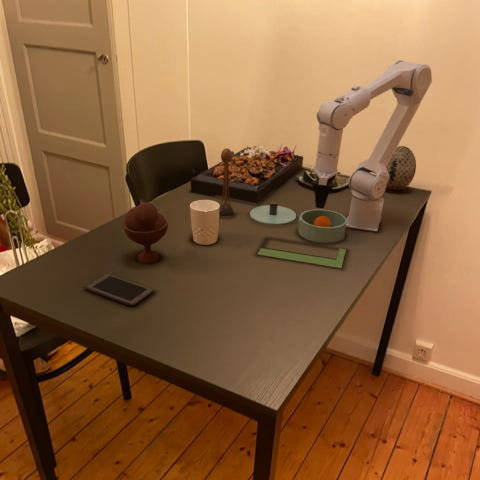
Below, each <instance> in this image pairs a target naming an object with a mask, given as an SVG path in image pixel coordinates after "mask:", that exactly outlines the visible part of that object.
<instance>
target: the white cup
mask: <svg viewBox="0 0 480 480" xmlns="http://www.w3.org/2000/svg"><path fill="white" fill-rule="evenodd" d="M220 206H221V204H220V203H219V202H217V201H216V200H212V199H211V200H210V199H199V200H195V201H192V202H191V203H190V204H189V210H190V211H189V212H190V223H191V224H190V225H191V231H192V240H193V242H194V243H196V245H197V244H198V245H202V246H208V245H213V244H215V243H217V241H218V237H219V225H220V215H219V210H220Z"/></svg>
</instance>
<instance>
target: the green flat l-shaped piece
mask: <svg viewBox="0 0 480 480" xmlns="http://www.w3.org/2000/svg"><path fill="white" fill-rule="evenodd" d="M346 252H347V249H346V248H339V247H338V250H337V254H336V257H335V258H332V257H325V256H320V255H314V254H307V253H300V252H294V251H288V250H282V249H277V248H276V249H275V248H269V247H263V246H262V247H260V249H259V250H258V252H257V254H256V256H261V257H266V258H272V259H278V260H284V261H291V262H296V263H302V264H308V265H314V266H315V265H316V266H321V267H326V268H332V269H333V268H334V269H340V270H341V269H342V268H343V263H344V260H345V256H346Z"/></svg>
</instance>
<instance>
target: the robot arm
mask: <svg viewBox="0 0 480 480" xmlns="http://www.w3.org/2000/svg"><path fill="white" fill-rule="evenodd" d="M432 83H433V77H432V69H431V67H430V66H429V65H428V64H420V63H414V62H409V61H404V60H396V61H395V62H393V63H392V64H389V65H388V67H387V69H386V70H385V71H384V72H383V73H381V74H380V75H379V76H378V77H376V78H375V79H373V80H372V81H370V82H369V83H368V84H367V85H365V86H363V85H356V84H354V85H353V86H350V90H348V91H347V92H344V94H342V95H338V96H336V98H335V99H334V100H327V101H325V102H324V103H322V104H321V105H320V107H319V109H318V112H316V120H317V122H318V130H319V135H318V142H317V150H316V158H315V165H314V166H311V167H310V168H309V169H310V170H309V172H312V173H313V172H315V173H316V176H317V180H318V181H316V180H313V181H312V186H313V189H314V190H313V192H314V202H315V203H314V204H315V209H324V208H325V207H326V204H327V200H328V197H329V196H330V195H329V194H330V193H331V192H330V191H331V189H332V188H333V186H334V184H331V183H332V181H333V179H334V178H335V176H336V174H337V172H338V167H339V166H338V165H339V159H340V152H341V145H342V139H343V132H344V129H345V128H346V127H347V126H348V125H349V123H350V121H351V120H352V119H353V117H354V116H357V114H359V113H361V112H362V111H364V110H366V109H367V108H368V107H369V106H370V104H371V100H373V99H375V98H376V97H378V96H380V95H382V94H384V93H386V92H388V91H390V90H391V91H392V93H393V96H394V98H396V103H397V105H396V106H395V108H394V110H393V112H392V114H391V116H390V118H389V119H388V121H387V124H386V125H385V127H384V129H383V131H382V133H381V135H380V136H379V138H378V141H377V143H376V144H375V146H374V148H373V149H372V152H371V154H370V156H369V158H368V159H365V160H363V161H361V162H359V164H358V166H357V167H356V168H355V170H353V171H352V173H351V174H350V175H349V177H348V179H349V185H348V187H349V188H350V194H352V195H351V201H350V205H349V206H350V207H349V212H348V216H347V217H346V219H347V225H346V228H347V229H348V228H349V229H354V230H355V229H356V230H361V231H369V232H378V230H379V227H380V224H381V222H382V212H383V207H384V201H385V198H384V197H382V196H383V195H384V193H385V191H386V189H387V187H386V185H387V182H388V180H389V178H390V176H389V173H388V171H387V168H386V167H387V165H388V163H389V161H390V159H391V157H392V155H393V154H394V152H395V150H396V148H397V147H398V146H399V145H400V143H401V140H402V139H403V137H404V135H405V134H406V132H407V130H408V128H409V126H410V125H411V122H412V120H413V119H414V117H415V115H416V113H417V111H418V110H419V107H420V105H421V103H422V101H423V99H424V97H425V96H426V94H427V92H428V90H429V88H430V86H431V84H432Z"/></svg>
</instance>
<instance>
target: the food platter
mask: <svg viewBox="0 0 480 480" xmlns="http://www.w3.org/2000/svg"><path fill="white" fill-rule="evenodd" d="M252 146H253V147H250V146H246V147H244V148H243V149H241V150H239V151H238V152H236V153H234V155H232V157H231V160H230V161H229V162H228V165H229V199H231V200H236V201H243V202H246V203H252V204H259V203H260V202H261V201H262V200H263V199H265V198H266V197H267V196H268V195H270V194H271V193H272V192H274V191H276V190H277V189H279V188H280V187H281V186H282V185H283V184H285V183H286V182H287V181H289V180H290V179H291V178H292V177H293V176H294V175H296V174H297V173H298V172H299V171H300V170H301V169H303V165H304V164H303V163H304V156H303V155H298V154H295V150H296V148H297V146H298V145H297V144H295V146H294V148H293V150H292V151H291V149H290V147H288V146H287V145H286V146H284V147H282V146H283V143H281V144H280V145H279V148H278V149H277V151H274V150H270V149H265V148H264V146H263V145H260V146H259V145H255V144H254V145H252ZM282 148H283V149H282ZM224 165H225V162H223V161H222V160H221V161H220V162H218V163H216V164H214V165H213V166H211V167H209V168H208V169H206V170H204V171H202V172H201V173H198V174H197V175H195V176H194V177H192V178H190V192H191V193H195V194H200V195H204V196H210V197H216V196H217V197H222V195H223V175H224ZM223 198H225V184H224V197H223ZM227 199H228V190H227Z"/></svg>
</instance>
